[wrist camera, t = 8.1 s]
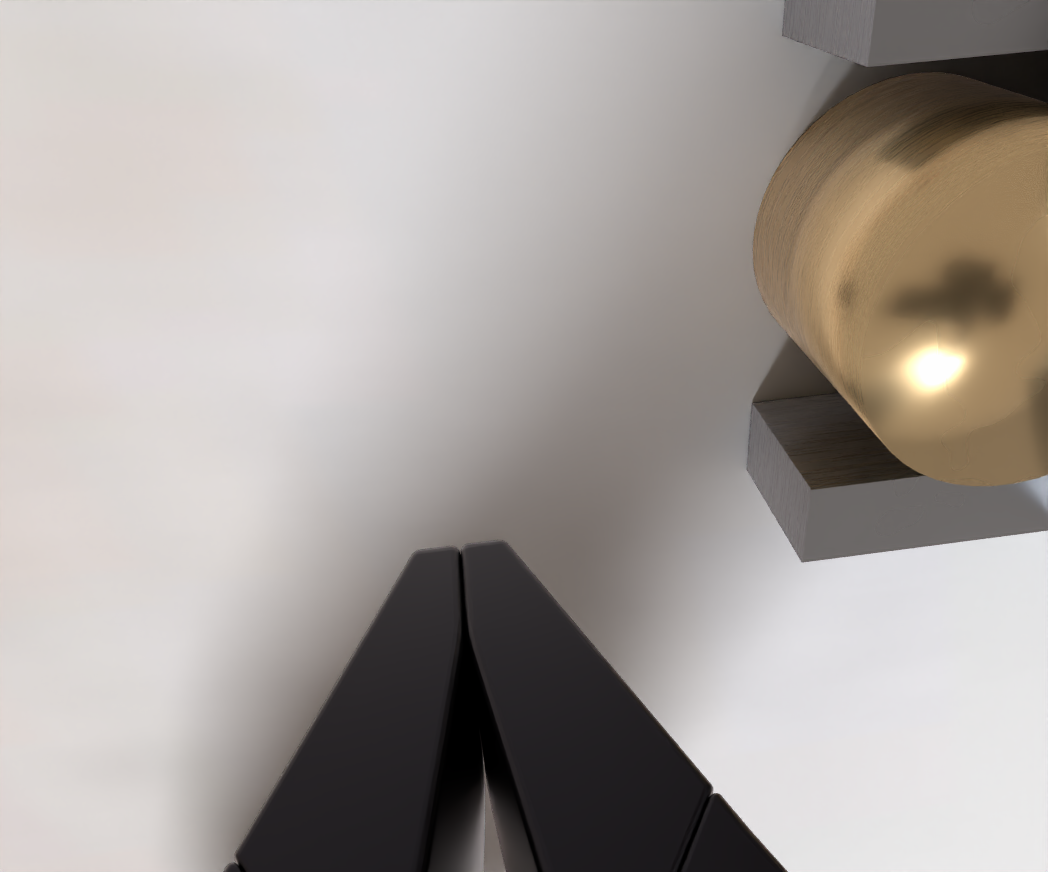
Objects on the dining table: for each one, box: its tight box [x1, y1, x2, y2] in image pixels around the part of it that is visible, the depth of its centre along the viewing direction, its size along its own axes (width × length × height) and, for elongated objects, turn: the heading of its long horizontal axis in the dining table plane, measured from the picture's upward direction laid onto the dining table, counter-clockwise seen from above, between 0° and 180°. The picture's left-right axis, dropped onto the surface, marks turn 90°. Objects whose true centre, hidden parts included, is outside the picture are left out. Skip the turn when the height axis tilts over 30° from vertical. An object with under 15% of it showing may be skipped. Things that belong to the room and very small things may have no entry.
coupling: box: [753, 72, 1048, 486], centre depth 14 cm, size 5×5×4 cm
